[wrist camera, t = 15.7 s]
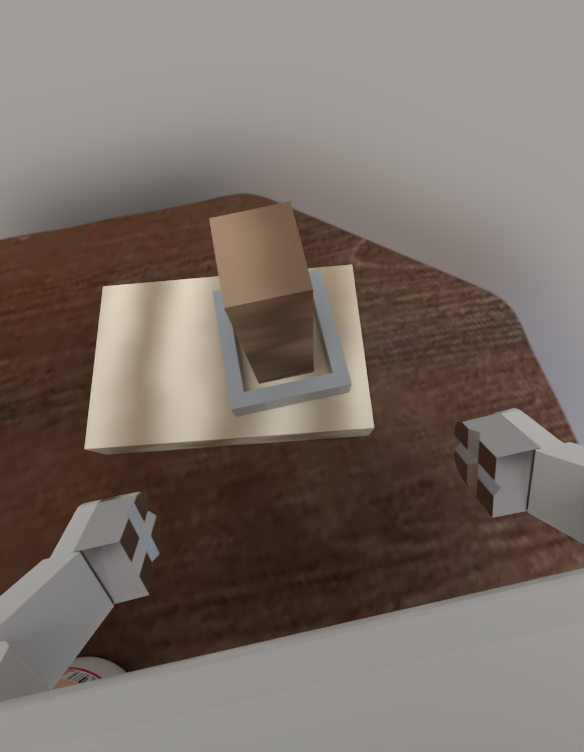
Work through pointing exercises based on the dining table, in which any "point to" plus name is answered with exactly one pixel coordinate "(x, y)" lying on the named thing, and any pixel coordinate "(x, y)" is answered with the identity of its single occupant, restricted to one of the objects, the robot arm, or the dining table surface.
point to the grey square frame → (291, 391)
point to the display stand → (206, 373)
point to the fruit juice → (88, 671)
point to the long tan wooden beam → (266, 289)
